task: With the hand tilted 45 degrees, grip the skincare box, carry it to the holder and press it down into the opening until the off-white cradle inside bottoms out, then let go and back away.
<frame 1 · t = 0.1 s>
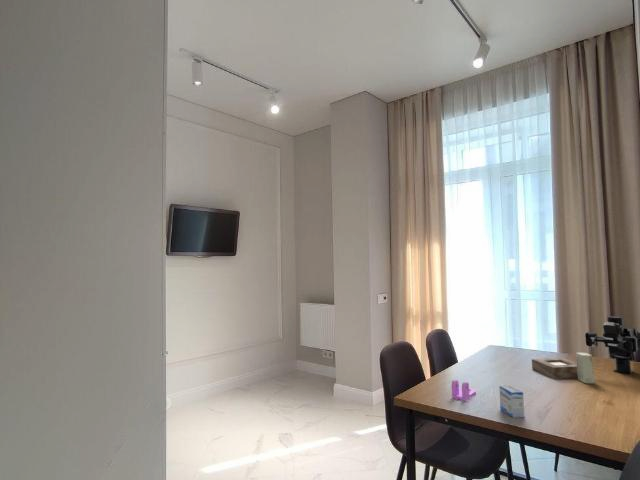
hand: (605, 344, 164), 17 cm above the table, tool horizontal, fingers open, 9 cm apart
cradle: (558, 365, 179), point 4 cm above the table, slide at 0.0 cm
skincare box: (586, 382, 165), on the table
holder: (558, 372, 179), on the table
bracket: (465, 396, 152), on the table
medicine box: (512, 414, 132), on the table
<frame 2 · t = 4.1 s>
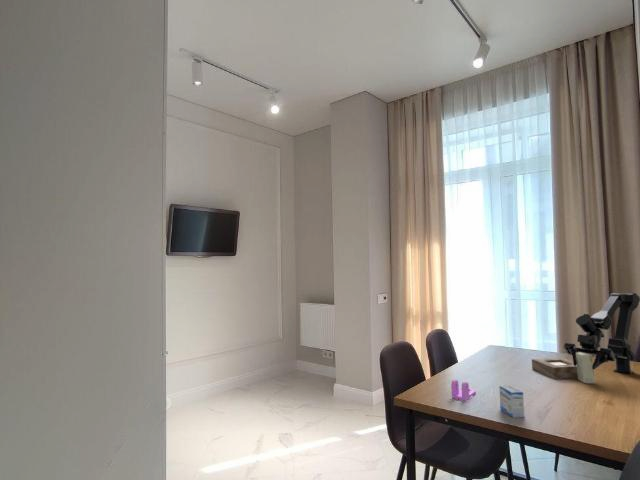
hand: (583, 367, 165), 7 cm above the table, tool tilted 45°, fingers closed on skincare box, 7 cm apart
skincare box: (586, 382, 165), on the table, touching gripper
everything else where it was.
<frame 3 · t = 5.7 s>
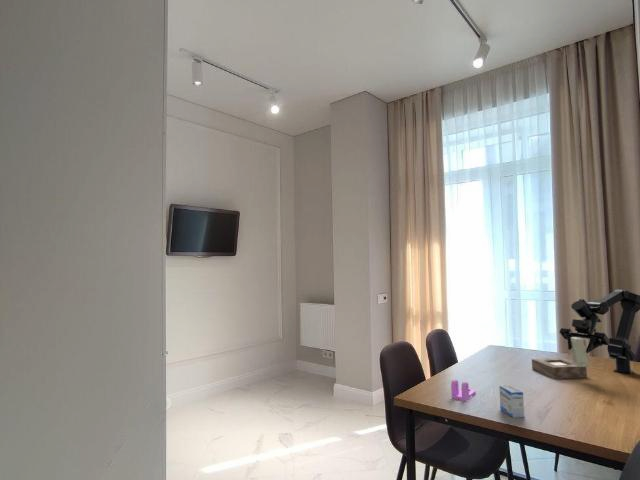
hand: (577, 351, 168), 13 cm above the table, tool tilted 45°, fingers closed on skincare box, 7 cm apart
skincare box: (580, 365, 168), point 6 cm above the table, touching gripper
everything else where it was.
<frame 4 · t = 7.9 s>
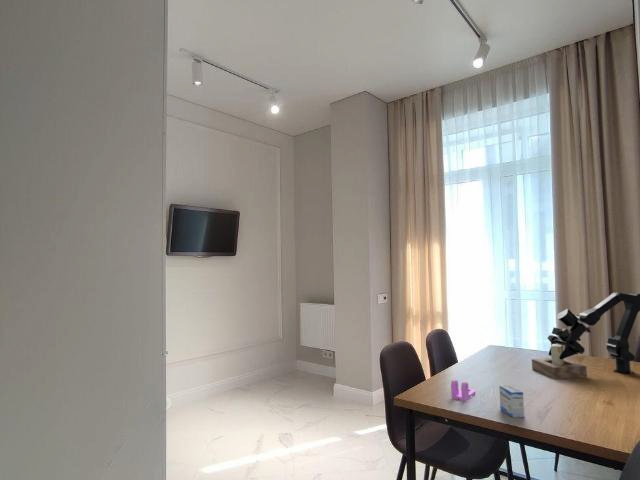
hand: (554, 356, 180), 8 cm above the table, tool tilted 45°, fingers closed on skincare box, 7 cm apart
cradle: (558, 371, 179), resting in holder, slide at 3.0 cm, touching skincare box
skincare box: (558, 371, 179), point 1 cm above the table, touching cradle, gripper
everything else where it was.
when the fingers open (8 cm above the table, at t = 9.3 s): skincare box stays where it is, resting on cradle.
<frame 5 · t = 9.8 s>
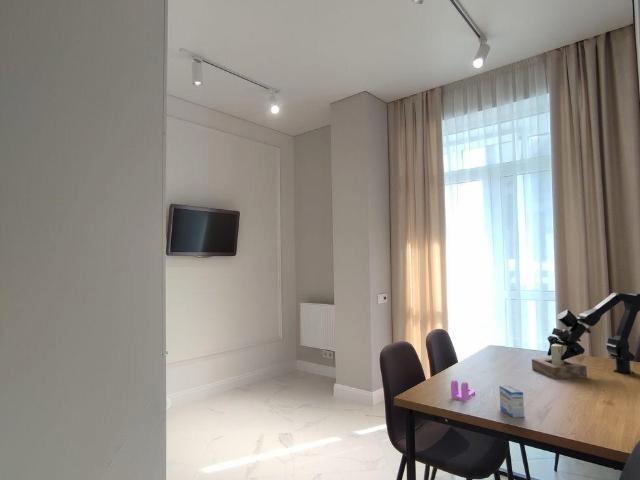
hand: (554, 357, 180), 7 cm above the table, tool tilted 45°, fingers open, 9 cm apart
skincare box: (558, 371, 179), point 1 cm above the table, touching cradle
everything else where it was.
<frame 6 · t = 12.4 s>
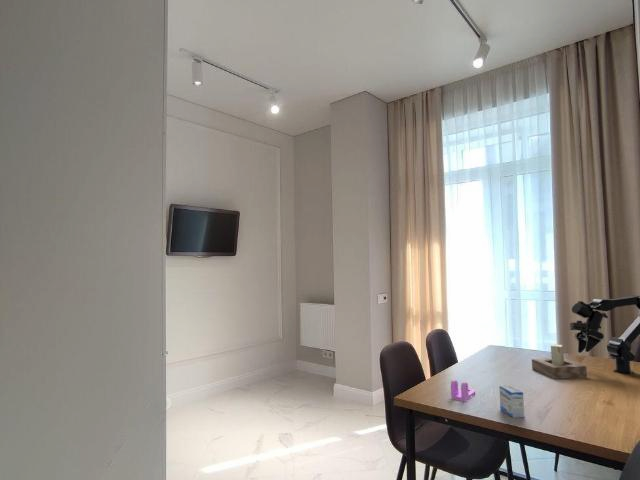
hand: (582, 352, 177), 10 cm above the table, tool tilted 30°, fingers open, 9 cm apart
nothing on the table moved.
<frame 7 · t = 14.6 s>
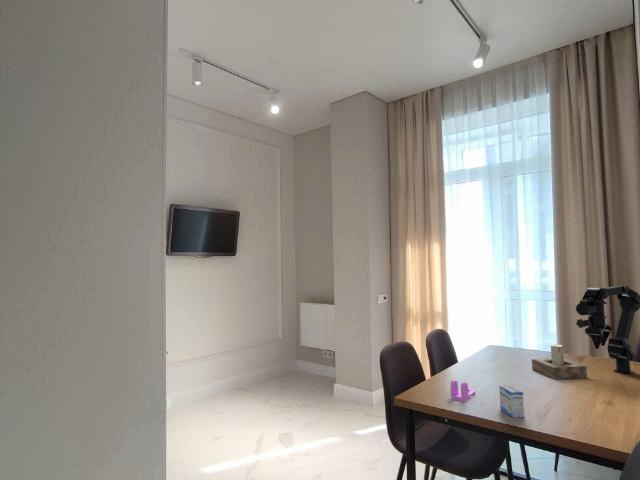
hand: (600, 347, 175), 13 cm above the table, tool pointing down, fingers open, 9 cm apart
nothing on the table moved.
at the end: cradle slide at 3.0 cm; skincare box 0.3 cm off-centre on the holder, point 0.8 cm above the holder's base; skincare box tilted 0° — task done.
